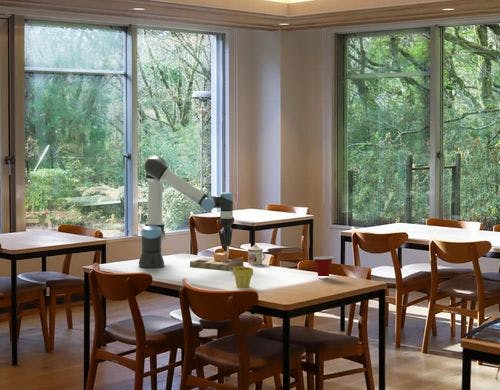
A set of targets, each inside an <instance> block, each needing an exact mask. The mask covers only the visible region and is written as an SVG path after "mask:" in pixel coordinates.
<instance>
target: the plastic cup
mask: <svg viewBox="0 0 500 390" xmlns="http://www.w3.org/2000/svg"><path fill="white" fill-rule="evenodd" d="M333 258H334V256H329V255H328V256H323V255H321V256H315V257H313V259H314V261H315V266H316V267H315V268H316V273H317V277H318V276H329V277H330V273H331V267H332V263H333V262H332V261H333Z"/></svg>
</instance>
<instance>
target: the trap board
mask: <svg viewBox="0 0 500 390" xmlns="http://www.w3.org/2000/svg"><path fill="white" fill-rule="evenodd" d="M244 259H245V258H244V256H241V257H237V258H235V259H228V260H226V261H214V257H213V258H211V257H203V258H198V259H194V260H190V261H189V267H192V268H203V269H212V270H213V269H214V270H224V271H231V270H232V271H233V269H234V268H235V267H242V266H243V267H244Z"/></svg>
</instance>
